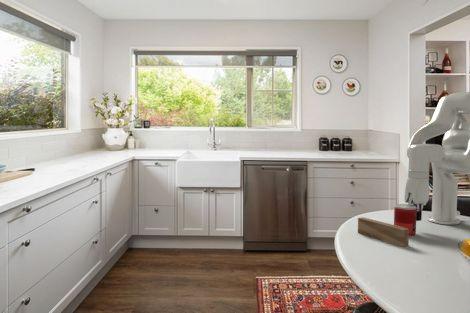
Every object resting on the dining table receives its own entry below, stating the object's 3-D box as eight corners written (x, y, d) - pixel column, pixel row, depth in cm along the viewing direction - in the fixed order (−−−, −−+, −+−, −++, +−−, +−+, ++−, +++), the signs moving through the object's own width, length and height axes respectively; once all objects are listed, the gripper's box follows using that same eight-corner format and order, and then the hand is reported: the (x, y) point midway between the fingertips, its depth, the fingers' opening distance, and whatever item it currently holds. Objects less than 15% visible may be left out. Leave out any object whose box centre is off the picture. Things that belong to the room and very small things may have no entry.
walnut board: (362, 231, 146) (363, 217, 146) (408, 245, 129) (409, 228, 129) (357, 232, 145) (358, 218, 144) (403, 246, 128) (403, 230, 127)
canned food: (418, 236, 140) (419, 208, 139) (396, 235, 141) (397, 207, 140) (412, 231, 147) (413, 204, 146) (391, 230, 149) (392, 203, 148)
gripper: (420, 173, 153) (418, 216, 155) (398, 175, 146) (396, 220, 147) (438, 175, 147) (436, 219, 148) (416, 177, 139) (414, 224, 141)
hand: (416, 220), depth 148 cm, fingers closed
